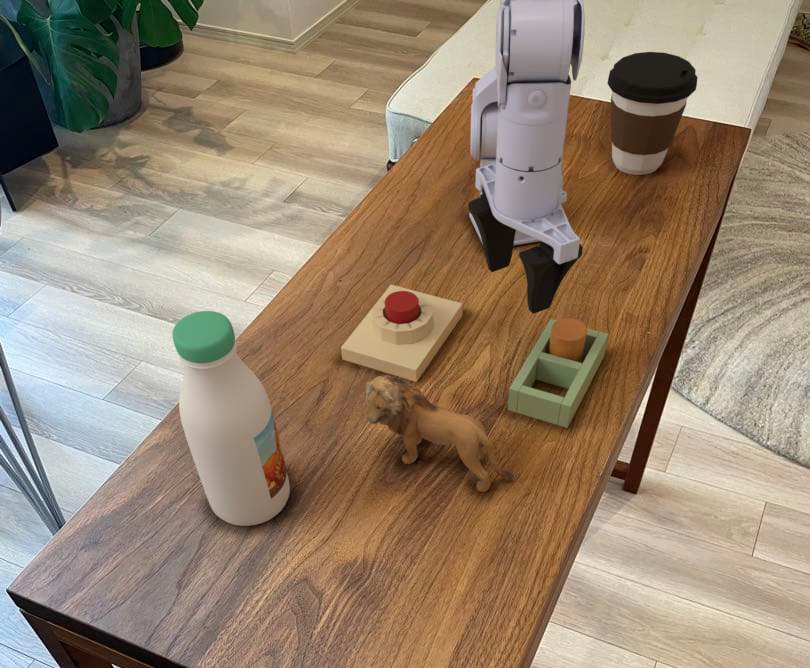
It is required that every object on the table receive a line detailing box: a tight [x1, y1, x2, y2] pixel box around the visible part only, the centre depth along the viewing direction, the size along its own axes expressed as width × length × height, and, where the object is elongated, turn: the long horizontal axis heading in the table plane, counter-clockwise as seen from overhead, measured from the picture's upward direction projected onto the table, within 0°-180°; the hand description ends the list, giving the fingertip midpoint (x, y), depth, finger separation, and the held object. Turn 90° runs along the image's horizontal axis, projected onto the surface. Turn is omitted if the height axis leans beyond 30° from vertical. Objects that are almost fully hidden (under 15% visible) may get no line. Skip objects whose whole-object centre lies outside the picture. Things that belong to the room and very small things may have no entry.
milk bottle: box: [172, 310, 291, 527], centre depth 71 cm, size 8×8×20 cm
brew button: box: [385, 291, 419, 324], centre depth 89 cm, size 4×4×2 cm
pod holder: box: [507, 318, 609, 429], centre depth 86 cm, size 6×12×3 cm, turn 154°
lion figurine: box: [363, 374, 515, 493], centre depth 77 cm, size 15×5×9 cm, turn 69°
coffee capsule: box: [548, 317, 588, 364], centre depth 86 cm, size 4×4×5 cm
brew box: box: [340, 284, 464, 383], centre depth 91 cm, size 12×9×4 cm
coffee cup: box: [607, 51, 698, 176], centre depth 107 cm, size 11×11×12 cm
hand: (518, 287), depth 82 cm, fingers open, 7 cm apart
